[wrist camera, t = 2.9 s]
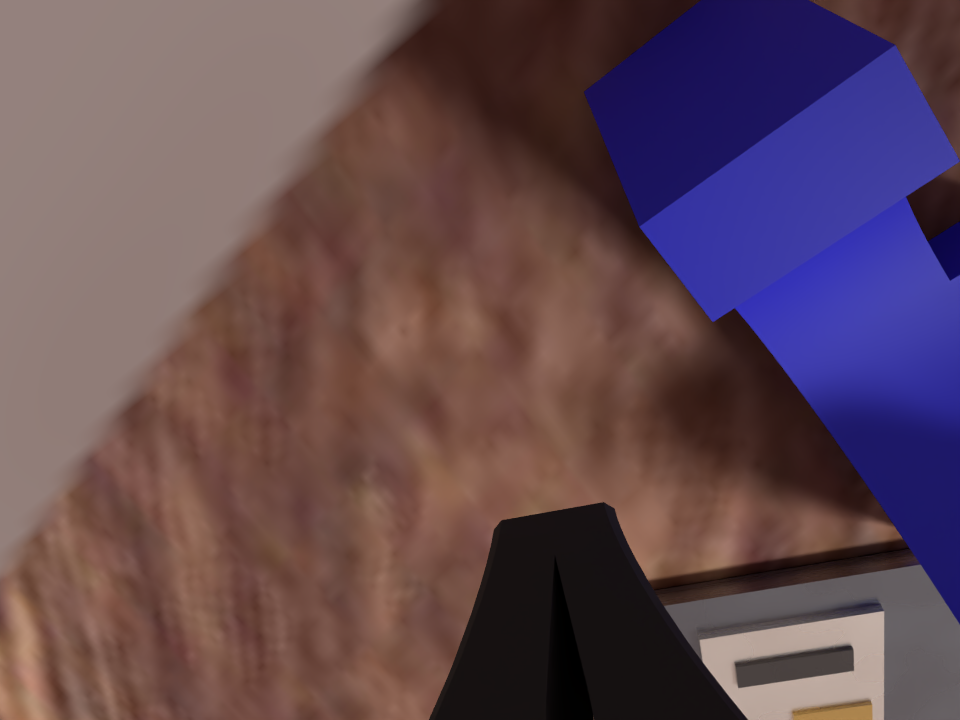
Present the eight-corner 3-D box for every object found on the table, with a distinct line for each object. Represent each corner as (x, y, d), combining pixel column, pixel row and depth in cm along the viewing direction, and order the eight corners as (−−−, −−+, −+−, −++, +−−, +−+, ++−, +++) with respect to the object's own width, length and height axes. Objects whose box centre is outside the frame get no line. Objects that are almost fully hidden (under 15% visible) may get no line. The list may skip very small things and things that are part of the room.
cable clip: (1113, 416, 18) (1364, 648, 13) (906, 525, 20) (1060, 774, 15) (827, -103, 14) (1045, -62, 8) (582, 89, 15) (639, 226, 10)
